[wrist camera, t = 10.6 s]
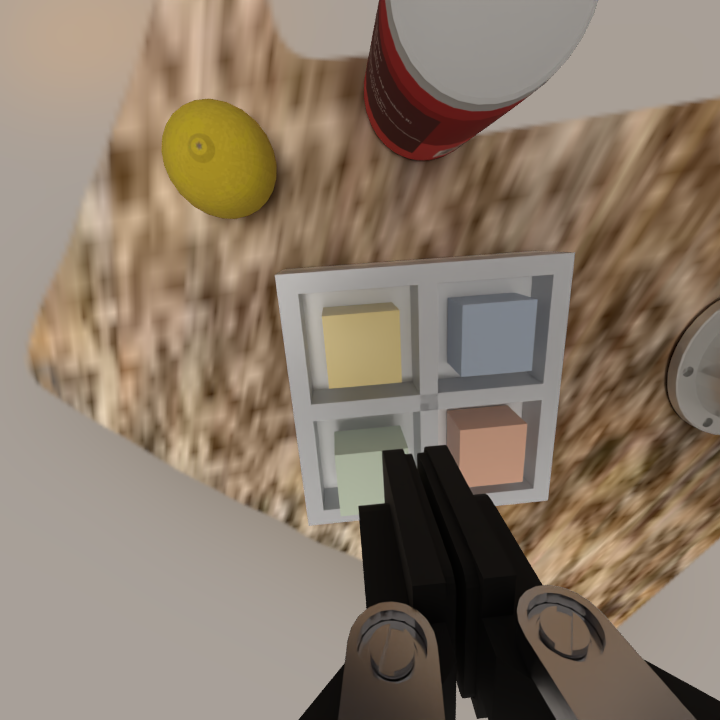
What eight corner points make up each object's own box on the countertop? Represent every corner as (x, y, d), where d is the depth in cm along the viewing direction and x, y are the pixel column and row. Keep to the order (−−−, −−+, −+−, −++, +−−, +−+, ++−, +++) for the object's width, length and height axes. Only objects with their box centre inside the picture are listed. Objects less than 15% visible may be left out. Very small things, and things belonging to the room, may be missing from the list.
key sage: (400, 425, 26) (408, 448, 23) (402, 481, 27) (410, 509, 24) (334, 431, 26) (334, 455, 23) (339, 487, 27) (340, 516, 24)
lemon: (286, 222, 25) (265, 215, 17) (201, 220, 24) (142, 211, 17) (282, 128, 23) (258, 74, 16) (191, 124, 23) (121, 66, 15)
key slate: (514, 292, 25) (537, 299, 22) (510, 356, 27) (531, 370, 24) (447, 297, 25) (462, 305, 22) (447, 362, 26) (461, 377, 24)
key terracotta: (507, 404, 28) (527, 423, 25) (504, 458, 29) (522, 481, 26) (446, 410, 28) (460, 430, 25) (446, 464, 29) (459, 488, 26)
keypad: (536, 250, 27) (574, 252, 22) (519, 465, 32) (547, 500, 28) (284, 269, 26) (274, 275, 22) (311, 486, 31) (308, 525, 27)
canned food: (507, 53, 23) (654, -105, 12) (449, 184, 25) (534, 143, 14) (394, -12, 21) (452, -251, 11) (343, 132, 24) (352, 47, 13)
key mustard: (391, 302, 25) (399, 310, 22) (394, 366, 26) (402, 382, 23) (323, 307, 25) (321, 316, 22) (329, 372, 26) (328, 388, 23)
